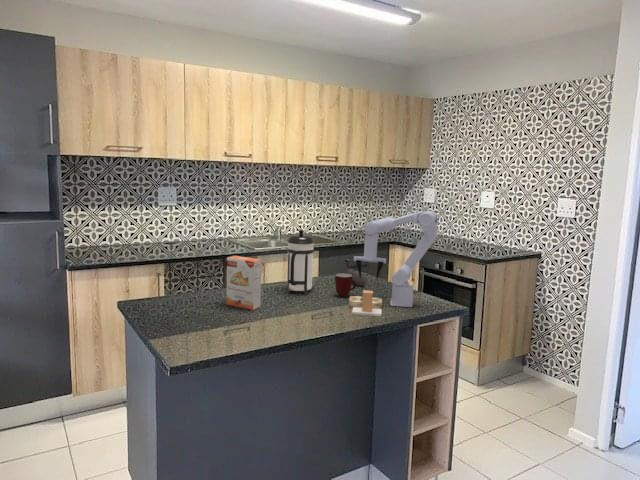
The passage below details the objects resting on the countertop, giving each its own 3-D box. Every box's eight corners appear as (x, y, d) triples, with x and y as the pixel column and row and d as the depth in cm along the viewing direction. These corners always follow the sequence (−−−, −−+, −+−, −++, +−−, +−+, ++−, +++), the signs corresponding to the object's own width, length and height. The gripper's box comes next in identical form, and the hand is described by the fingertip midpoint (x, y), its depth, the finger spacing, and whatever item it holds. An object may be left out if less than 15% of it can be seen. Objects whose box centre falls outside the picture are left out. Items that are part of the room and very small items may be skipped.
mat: (381, 311, 200) (381, 309, 200) (381, 316, 193) (381, 314, 193) (353, 309, 202) (353, 307, 202) (352, 314, 195) (352, 312, 195)
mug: (349, 292, 229) (350, 272, 228) (359, 296, 222) (360, 275, 221) (331, 294, 224) (331, 274, 222) (340, 299, 217) (341, 277, 215)
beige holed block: (381, 304, 211) (381, 298, 210) (381, 310, 202) (381, 303, 201) (350, 302, 212) (350, 295, 212) (348, 308, 203) (348, 301, 203)
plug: (371, 309, 199) (372, 290, 198) (371, 312, 196) (372, 293, 194) (362, 308, 200) (363, 290, 199) (362, 311, 196) (362, 292, 195)
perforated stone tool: (368, 287, 241) (369, 274, 240) (359, 288, 238) (360, 274, 237) (352, 280, 254) (353, 268, 253) (344, 281, 251) (345, 268, 250)
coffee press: (277, 288, 231) (278, 227, 226) (307, 286, 238) (309, 227, 233) (290, 298, 216) (292, 232, 211) (322, 295, 222) (324, 232, 218)
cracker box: (225, 305, 201) (225, 257, 198) (234, 302, 206) (234, 254, 203) (252, 311, 195) (253, 261, 191) (261, 307, 200) (262, 258, 197)
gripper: (354, 248, 211) (352, 278, 213) (386, 250, 209) (384, 280, 212) (355, 245, 218) (353, 274, 220) (386, 248, 216) (384, 277, 218)
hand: (368, 277), depth 216 cm, fingers open, 7 cm apart
